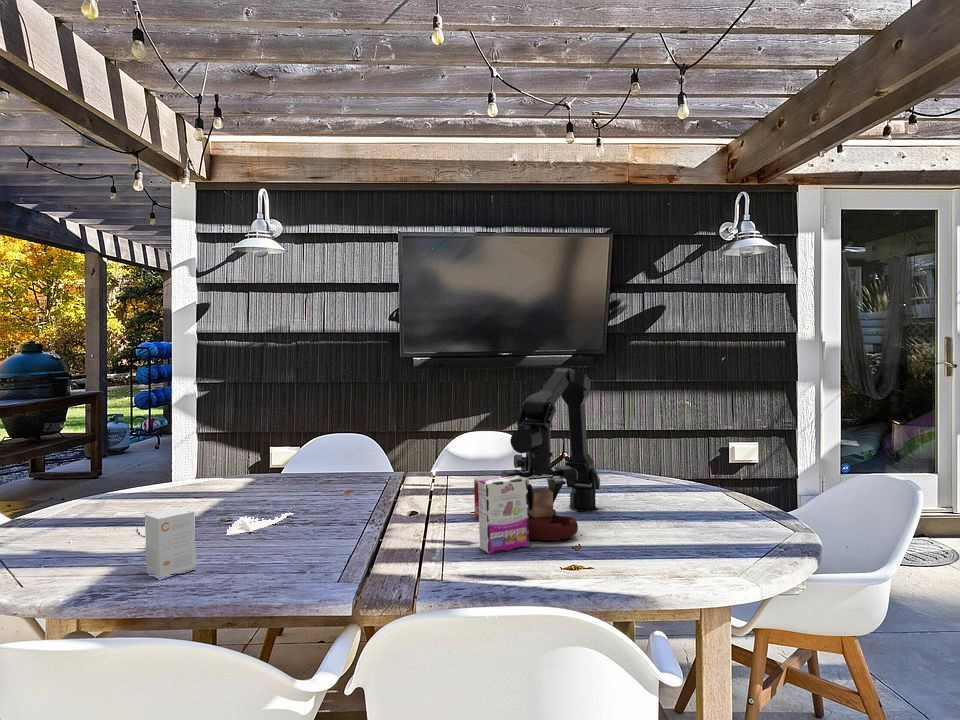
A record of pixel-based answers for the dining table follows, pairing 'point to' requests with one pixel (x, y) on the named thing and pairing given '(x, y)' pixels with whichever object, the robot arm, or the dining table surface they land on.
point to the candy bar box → (503, 514)
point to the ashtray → (552, 527)
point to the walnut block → (541, 502)
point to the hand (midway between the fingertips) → (540, 509)
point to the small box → (170, 541)
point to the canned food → (477, 492)
